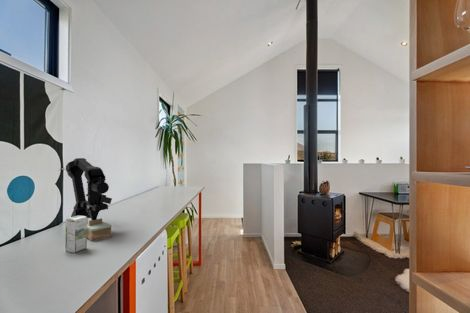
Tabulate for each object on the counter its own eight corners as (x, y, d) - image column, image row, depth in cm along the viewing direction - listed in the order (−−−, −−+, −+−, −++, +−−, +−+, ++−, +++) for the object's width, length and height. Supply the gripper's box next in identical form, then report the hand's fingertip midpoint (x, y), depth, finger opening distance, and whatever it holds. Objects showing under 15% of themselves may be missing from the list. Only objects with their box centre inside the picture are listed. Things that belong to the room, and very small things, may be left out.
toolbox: (82, 236, 122) (82, 227, 122) (100, 232, 130) (100, 223, 130) (92, 241, 115) (92, 231, 115) (111, 236, 122) (111, 227, 122)
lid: (81, 226, 122) (81, 220, 122) (100, 222, 130) (100, 216, 130) (92, 231, 115) (91, 224, 115) (111, 226, 122) (111, 219, 122)
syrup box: (77, 246, 108) (77, 215, 108) (87, 248, 107) (87, 216, 107) (65, 251, 103) (65, 218, 103) (75, 253, 101) (74, 219, 101)
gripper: (118, 191, 125) (118, 221, 125) (101, 188, 136) (102, 216, 136) (95, 194, 116) (95, 226, 116) (80, 191, 127) (80, 220, 127)
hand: (94, 221), depth 124 cm, fingers closed
